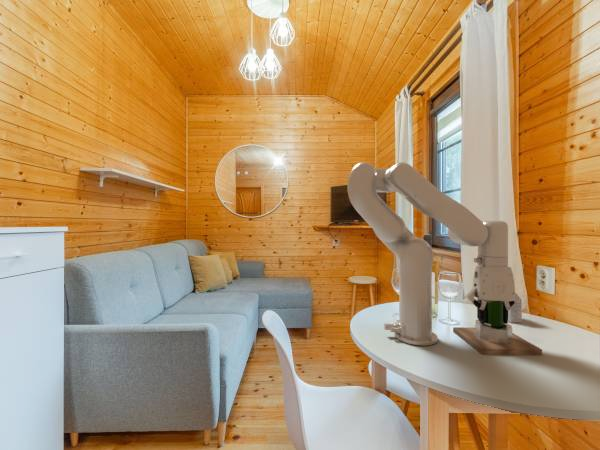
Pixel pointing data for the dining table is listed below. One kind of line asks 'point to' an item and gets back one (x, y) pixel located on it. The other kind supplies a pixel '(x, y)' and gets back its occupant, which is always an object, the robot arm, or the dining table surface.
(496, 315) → the beer can
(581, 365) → the dining table surface
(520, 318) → the medicine box
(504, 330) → the can sleeve
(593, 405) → the dining table surface
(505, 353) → the walnut stand
